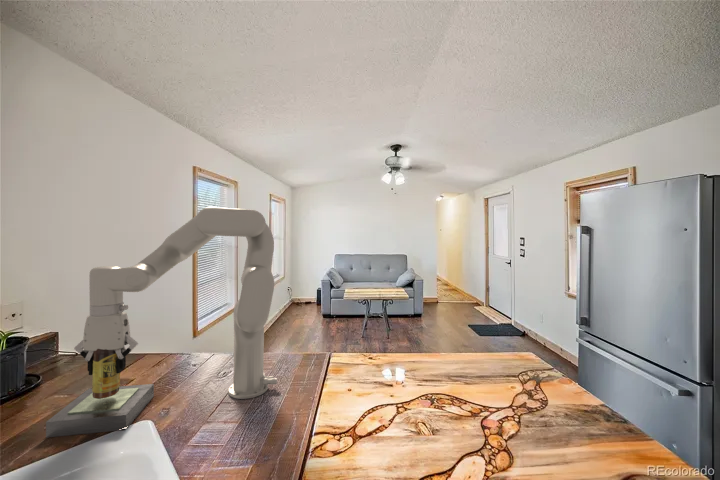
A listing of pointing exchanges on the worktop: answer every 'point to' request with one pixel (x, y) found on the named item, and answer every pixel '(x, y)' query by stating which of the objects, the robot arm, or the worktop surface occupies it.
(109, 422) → the stand
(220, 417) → the worktop surface
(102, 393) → the sauce bottle
